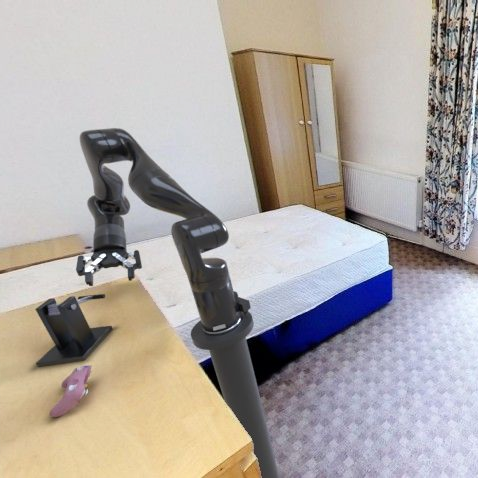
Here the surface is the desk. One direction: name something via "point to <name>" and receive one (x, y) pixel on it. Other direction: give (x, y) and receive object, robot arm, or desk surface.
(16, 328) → the desk surface
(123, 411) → the desk surface
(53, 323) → the bracket
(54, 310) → the lever
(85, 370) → the pink curved piece
